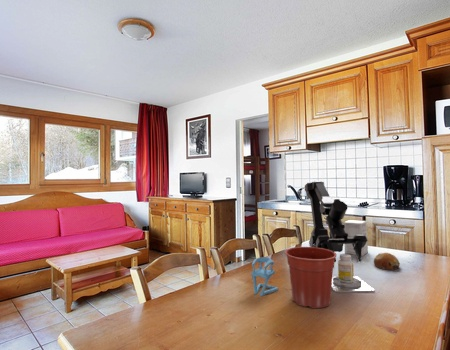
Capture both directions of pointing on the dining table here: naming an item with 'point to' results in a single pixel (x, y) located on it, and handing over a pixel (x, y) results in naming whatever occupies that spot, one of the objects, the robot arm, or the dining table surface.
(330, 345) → the dining table surface
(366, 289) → the flange
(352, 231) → the supplement box
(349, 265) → the supplement bottle
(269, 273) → the chair
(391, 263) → the bread roll
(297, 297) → the flower pot
